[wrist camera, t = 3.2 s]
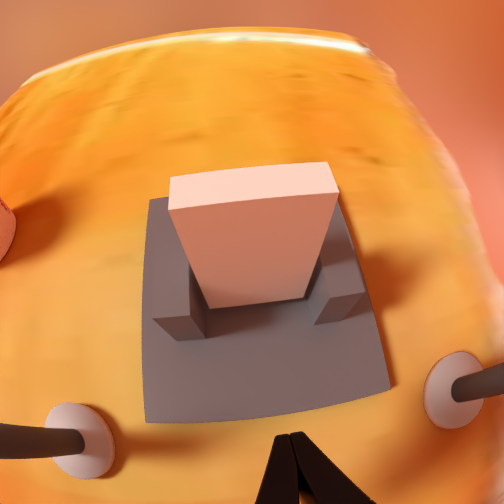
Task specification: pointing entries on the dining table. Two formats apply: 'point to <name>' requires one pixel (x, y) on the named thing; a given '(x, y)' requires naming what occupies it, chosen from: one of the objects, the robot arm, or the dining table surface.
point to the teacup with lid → (6, 228)
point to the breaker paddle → (253, 229)
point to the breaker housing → (254, 337)
